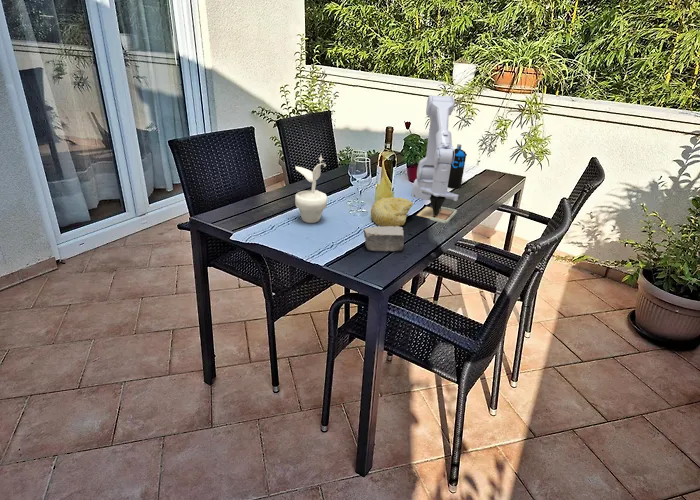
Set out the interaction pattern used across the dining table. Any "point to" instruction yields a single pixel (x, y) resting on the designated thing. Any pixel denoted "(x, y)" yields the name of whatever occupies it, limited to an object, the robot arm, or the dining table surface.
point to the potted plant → (311, 196)
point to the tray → (448, 218)
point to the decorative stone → (384, 238)
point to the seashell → (390, 211)
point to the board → (426, 212)
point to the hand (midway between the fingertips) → (435, 214)
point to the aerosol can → (457, 168)
